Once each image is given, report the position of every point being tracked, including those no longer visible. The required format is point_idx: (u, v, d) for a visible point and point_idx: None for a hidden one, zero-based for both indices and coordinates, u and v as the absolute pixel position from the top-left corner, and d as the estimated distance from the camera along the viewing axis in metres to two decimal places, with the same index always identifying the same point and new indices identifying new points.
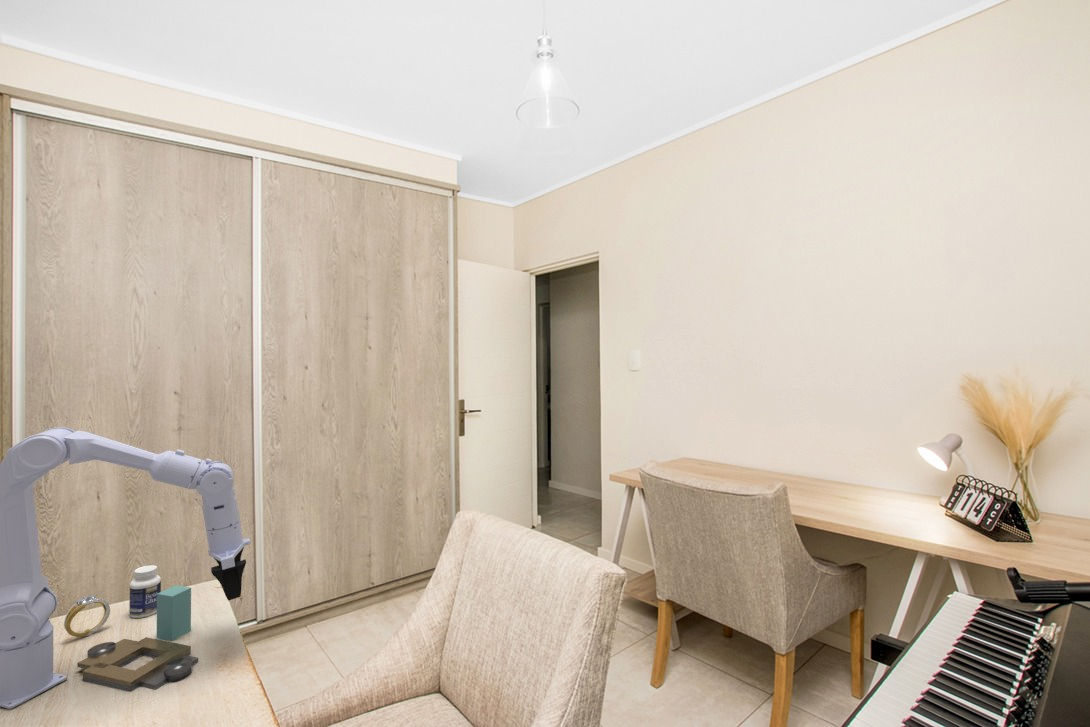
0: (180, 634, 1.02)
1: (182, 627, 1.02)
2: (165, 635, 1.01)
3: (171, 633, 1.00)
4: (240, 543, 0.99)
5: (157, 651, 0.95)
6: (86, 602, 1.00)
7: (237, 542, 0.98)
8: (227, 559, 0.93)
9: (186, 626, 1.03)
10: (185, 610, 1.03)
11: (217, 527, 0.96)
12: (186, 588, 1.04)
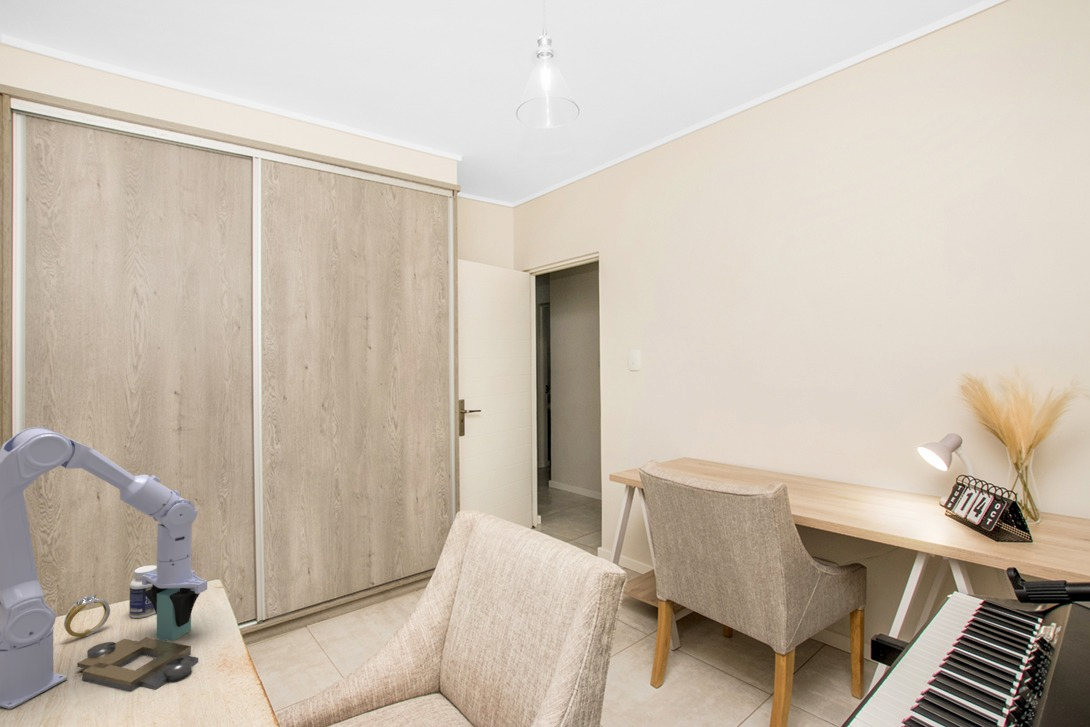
0: (180, 634, 1.02)
1: (182, 627, 1.02)
2: (165, 635, 1.01)
3: (171, 632, 1.00)
4: (191, 572, 1.04)
5: (157, 651, 0.95)
6: (86, 602, 1.00)
7: (191, 571, 1.04)
8: (203, 583, 1.01)
9: (186, 626, 1.03)
10: None
11: (175, 558, 1.00)
12: None
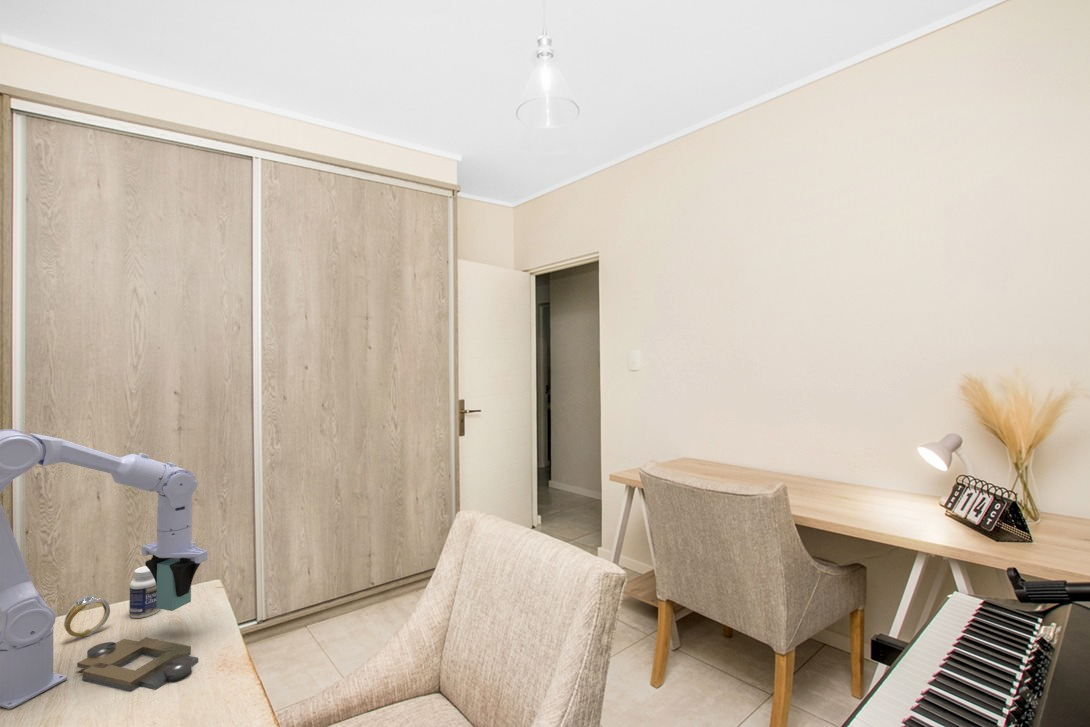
0: (180, 604, 1.02)
1: (182, 598, 1.02)
2: (165, 605, 1.00)
3: (171, 602, 1.00)
4: None
5: (157, 651, 0.95)
6: (86, 602, 1.00)
7: (191, 542, 1.04)
8: (203, 553, 1.01)
9: (186, 597, 1.03)
10: None
11: (175, 528, 1.00)
12: None
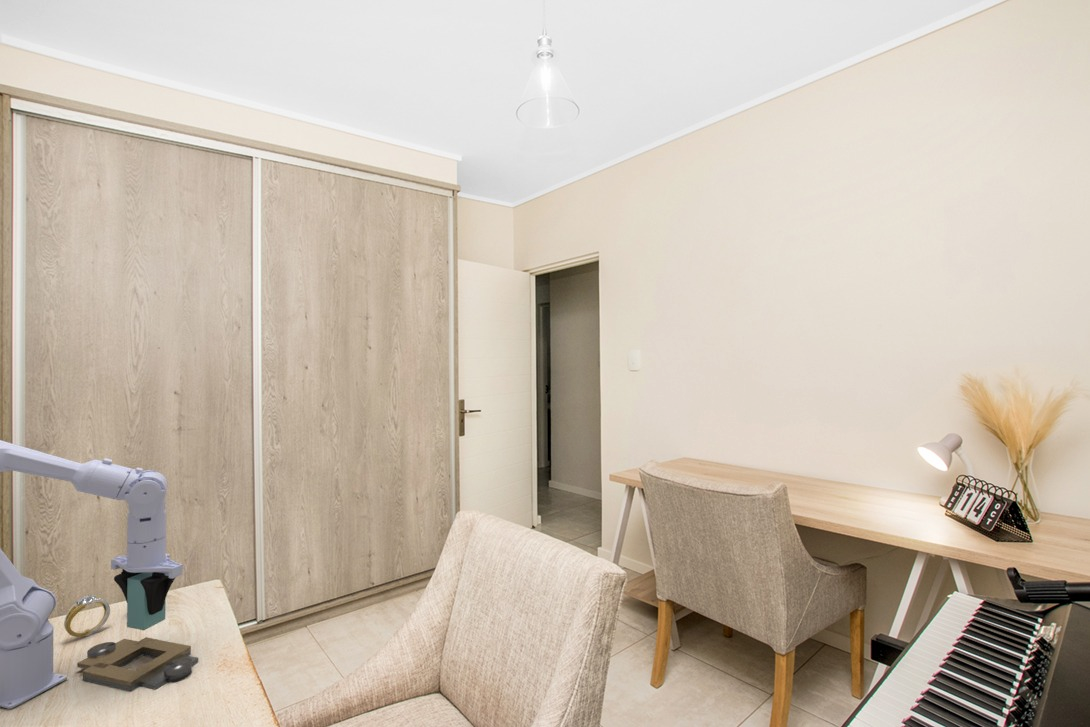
0: (153, 623, 0.93)
1: (155, 616, 0.94)
2: (136, 624, 0.92)
3: (143, 621, 0.92)
4: (165, 556, 0.96)
5: (157, 651, 0.95)
6: (86, 602, 1.00)
7: (165, 555, 0.95)
8: (177, 567, 0.92)
9: (160, 614, 0.94)
10: None
11: (139, 541, 0.91)
12: None
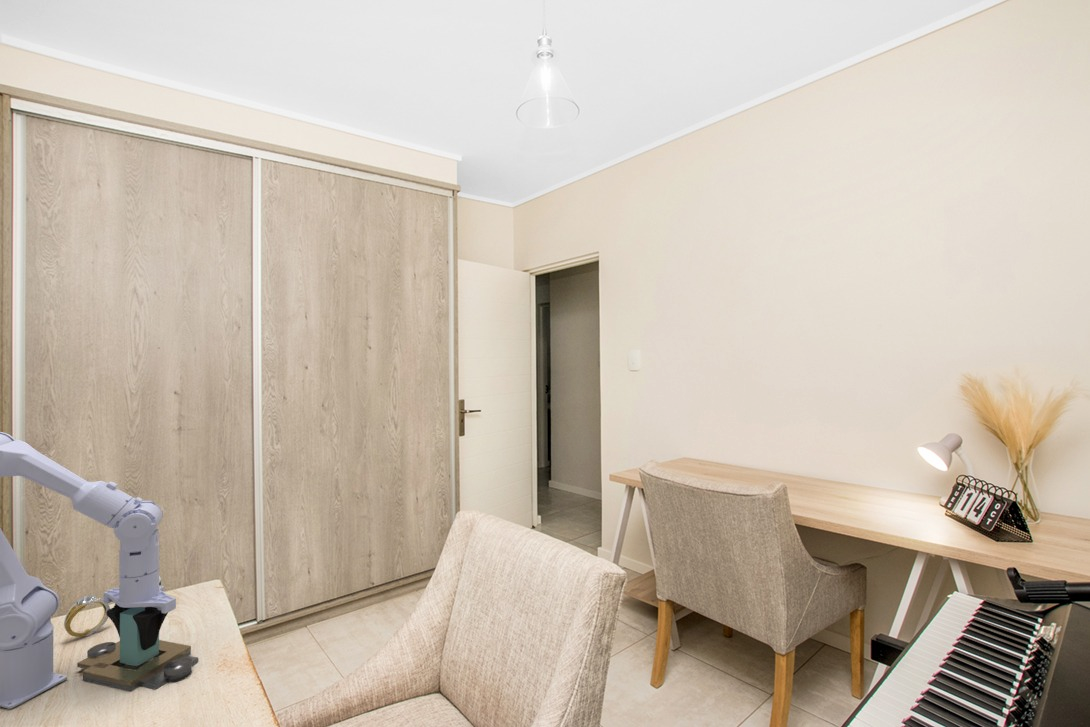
0: (146, 658, 0.91)
1: (148, 650, 0.92)
2: (129, 659, 0.90)
3: (136, 657, 0.90)
4: (159, 589, 0.94)
5: None
6: (86, 602, 1.00)
7: (158, 588, 0.93)
8: (170, 601, 0.90)
9: (153, 649, 0.93)
10: None
11: (130, 575, 0.89)
12: None
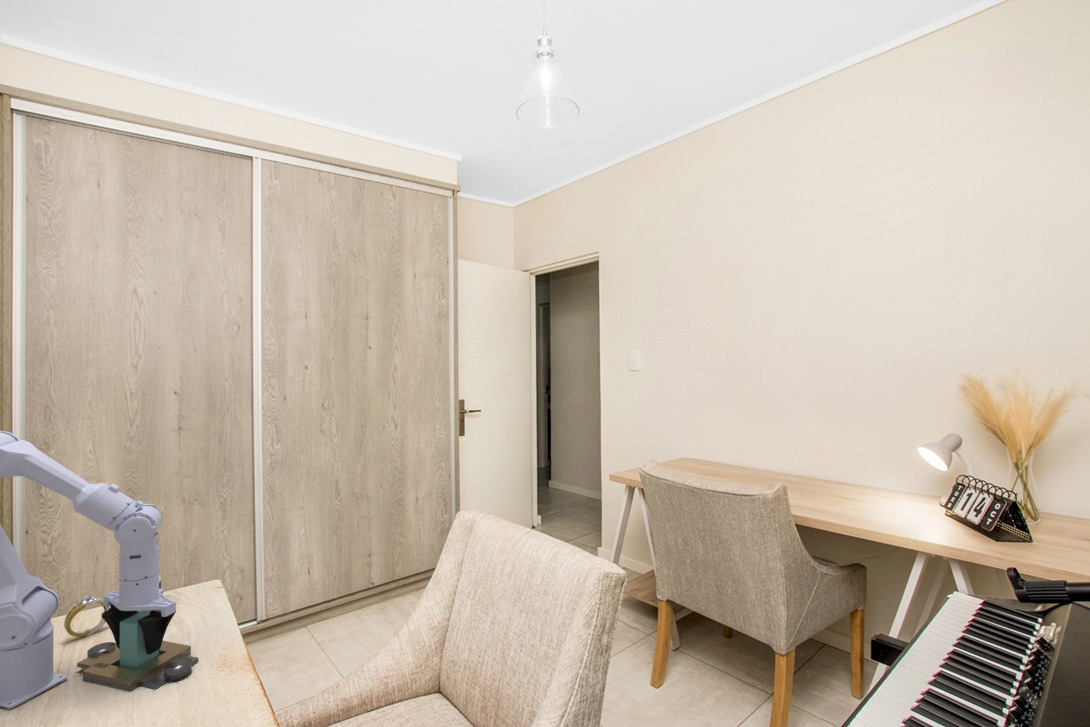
0: None
1: (148, 659, 0.92)
2: (129, 668, 0.90)
3: (135, 666, 0.90)
4: (159, 592, 0.94)
5: None
6: (86, 602, 1.00)
7: (158, 591, 0.93)
8: (170, 605, 0.90)
9: (153, 657, 0.92)
10: None
11: (129, 578, 0.89)
12: None
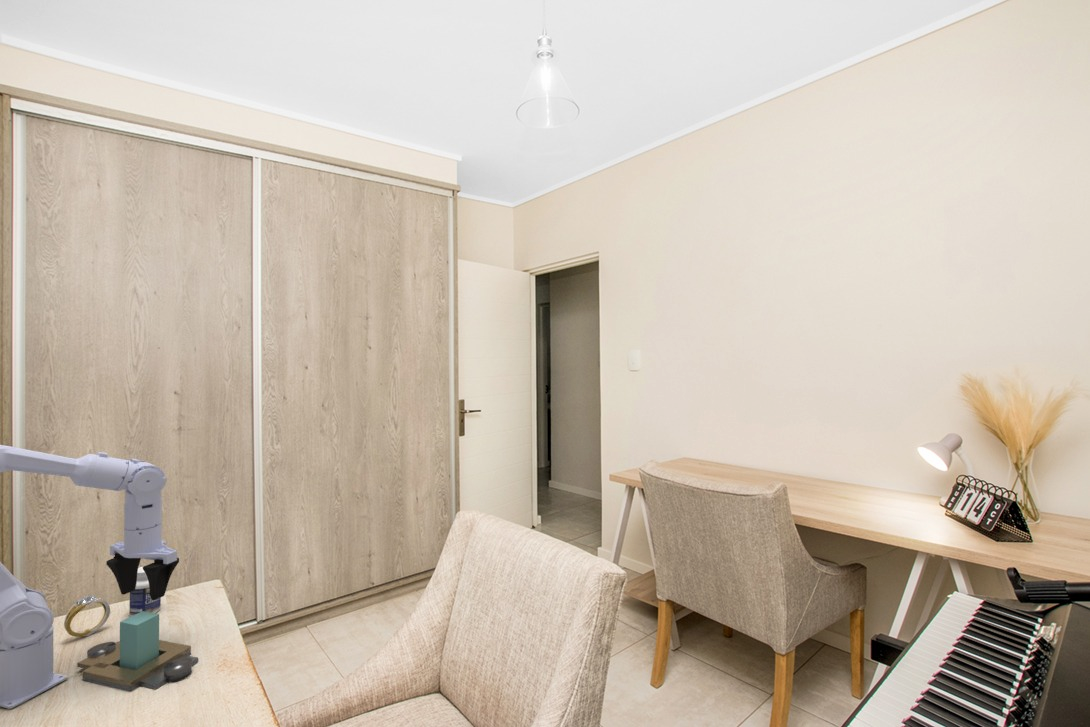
0: None
1: (148, 659, 0.92)
2: (129, 668, 0.90)
3: (135, 666, 0.90)
4: (161, 543, 0.99)
5: None
6: (86, 602, 1.00)
7: (161, 541, 0.98)
8: (172, 553, 0.95)
9: (153, 657, 0.93)
10: (152, 639, 0.92)
11: (142, 527, 0.95)
12: (153, 615, 0.93)
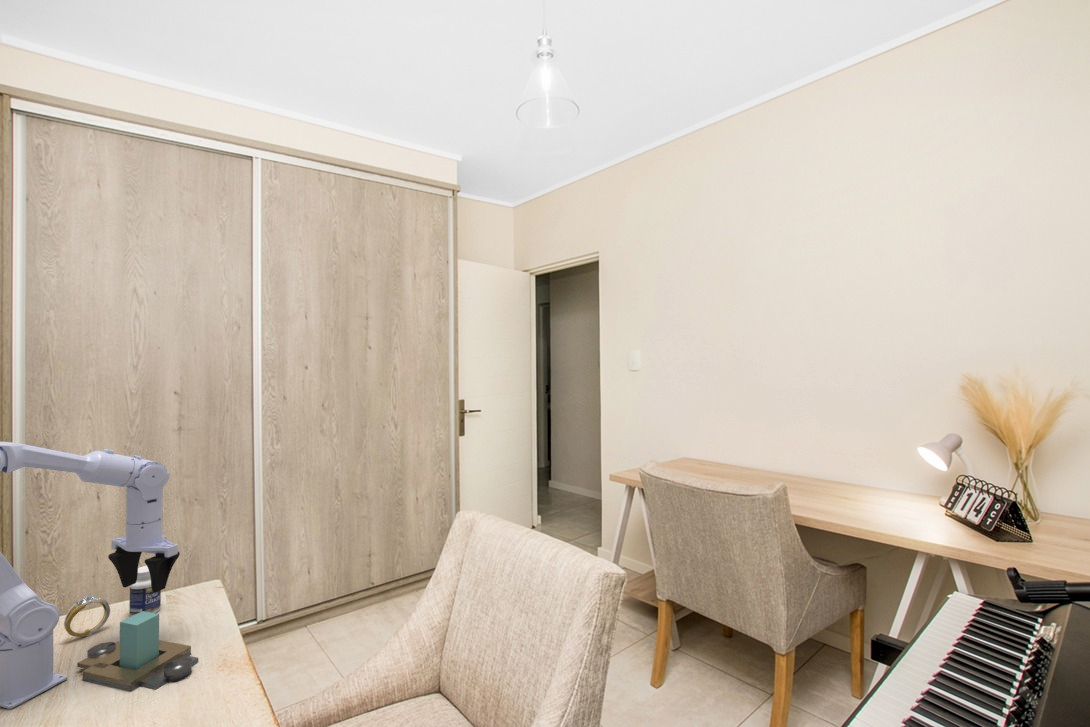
0: None
1: (148, 659, 0.92)
2: (129, 668, 0.90)
3: (135, 666, 0.90)
4: (162, 537, 1.02)
5: None
6: (86, 602, 1.00)
7: (162, 536, 1.02)
8: (173, 547, 0.99)
9: (153, 657, 0.92)
10: (152, 639, 0.92)
11: (147, 521, 0.98)
12: (153, 615, 0.93)
